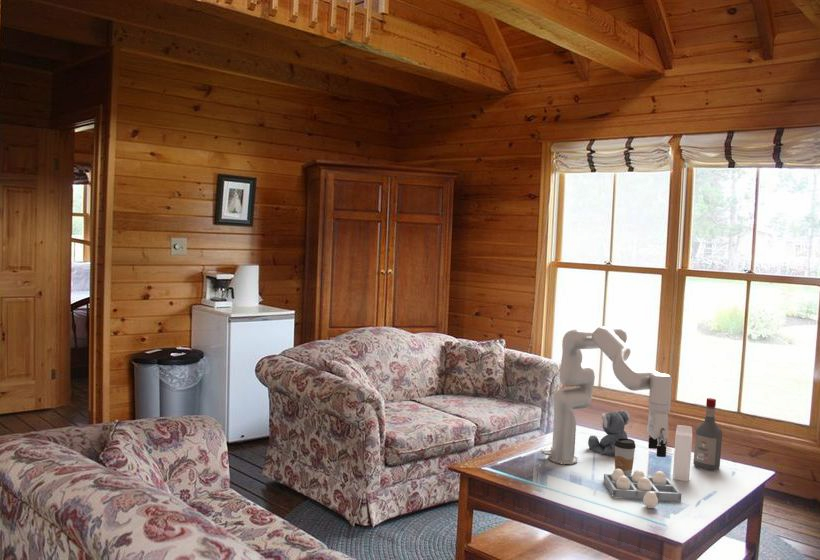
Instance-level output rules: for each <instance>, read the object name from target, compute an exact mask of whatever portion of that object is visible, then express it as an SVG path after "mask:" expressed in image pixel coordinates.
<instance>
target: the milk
mask: <svg viewBox="0 0 820 560" xmlns="http://www.w3.org/2000/svg"><path fill="white" fill-rule="evenodd" d="M674 439H675V441H674V452H673V453H674V455H673V469H672V476H673V480H677V481H682V482H690V475H691V474H690V472H691V458H692V446H693V445H692V444H693V427H692V426H690V425H682V424H681V425H680V424H677V425H676V429H675V438H674Z"/></svg>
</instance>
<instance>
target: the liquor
mask: <svg viewBox="0 0 820 560" xmlns="http://www.w3.org/2000/svg"><path fill="white" fill-rule="evenodd" d="M716 402H717V400H716V398H711V397H708V398H706V403H705V405H706V410H705V418H704V421H703V422H701V423H700V424H699V425H698V426H697V427H696V428H695V435H694V436H695V438H694V452H693V466H694V467H695V468H696V469H699V470H700V469H701V470H703V471H706V472H714V471H716V470H717V471H718V470H719V469H720V467H721V455H722V442H723V441H722V440H723V430H722V429H721V427H720V426H719V425H718V424H717V423H716V419H715V414H716V405H717V404H716Z"/></svg>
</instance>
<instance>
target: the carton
mask: <svg viewBox="0 0 820 560" xmlns="http://www.w3.org/2000/svg"><path fill="white" fill-rule="evenodd" d="M603 483H604V484H605V487H606V488H607V489H609V490H608V491H609V493H610V492H611V493H610V494H611V496H612V495H613V496H612V498H613V497H622V498H621V499H628V498H635V499H634V500H643V497H644V496H645V494H646V493H647V492H648V491H653V492H654V493H655V494H656V496H657V498H658V501H663V502H665V501H666V502H682V496H683V495H682V493H681V492H680V491H679V489H678V488H677V487H676V486H675V485H674V484H673V482H672V481H671V480H670V479H669V478H668V477H666V474H665V472H663V471H662V470H657V471H655V472H654V475H653V476H646V475H645V473H644V471H642V470H641V469H636V470H634V472H633V474H631V476H628V475H624V473H623V471H622V470H621V469H615V468H614V470H613V472H612V473H610V474H609V473H608V474H607V473H603Z"/></svg>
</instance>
